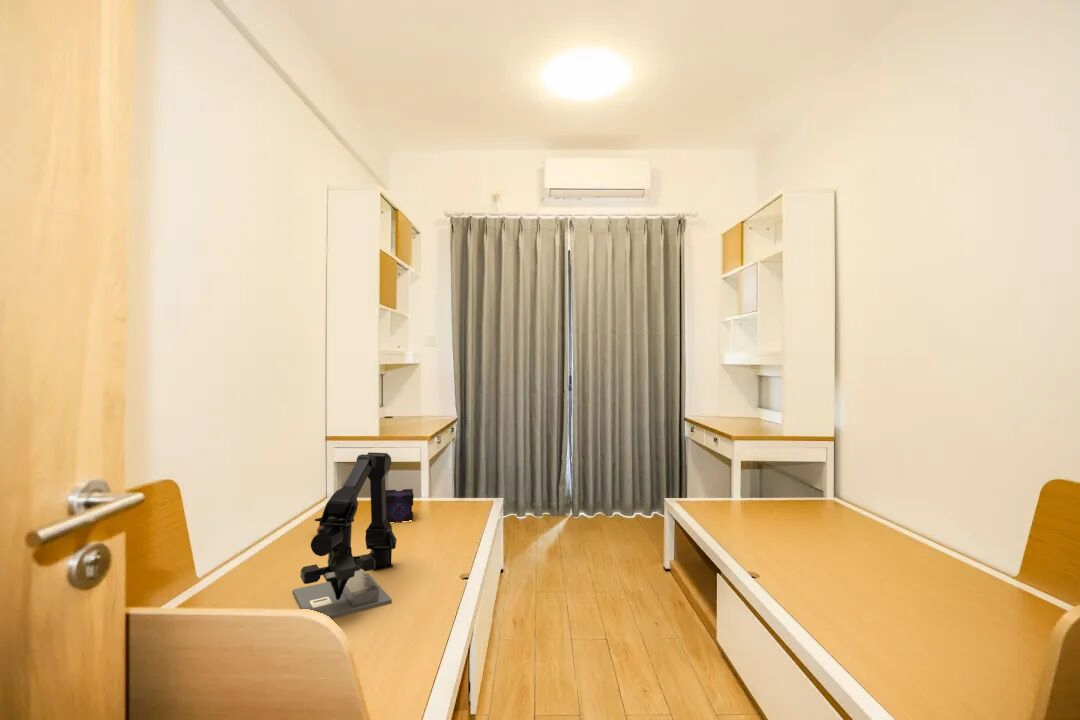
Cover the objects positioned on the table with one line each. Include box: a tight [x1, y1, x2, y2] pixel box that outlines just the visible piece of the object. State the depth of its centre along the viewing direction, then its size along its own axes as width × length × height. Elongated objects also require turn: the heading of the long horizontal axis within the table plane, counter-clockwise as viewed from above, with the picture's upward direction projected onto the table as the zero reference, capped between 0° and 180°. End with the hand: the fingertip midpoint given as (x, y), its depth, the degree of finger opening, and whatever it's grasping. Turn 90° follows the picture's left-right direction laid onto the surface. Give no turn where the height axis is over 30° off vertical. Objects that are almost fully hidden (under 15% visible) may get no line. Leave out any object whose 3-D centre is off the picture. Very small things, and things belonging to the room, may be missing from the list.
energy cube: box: [386, 488, 414, 523], centre depth 217 cm, size 12×12×12 cm
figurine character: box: [314, 516, 339, 535], centre depth 196 cm, size 7×8×15 cm
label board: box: [292, 572, 393, 620], centre depth 139 cm, size 22×22×1 cm
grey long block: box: [343, 569, 379, 607], centre depth 142 cm, size 21×7×3 cm, turn 37°
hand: (337, 599), depth 133 cm, fingers closed
